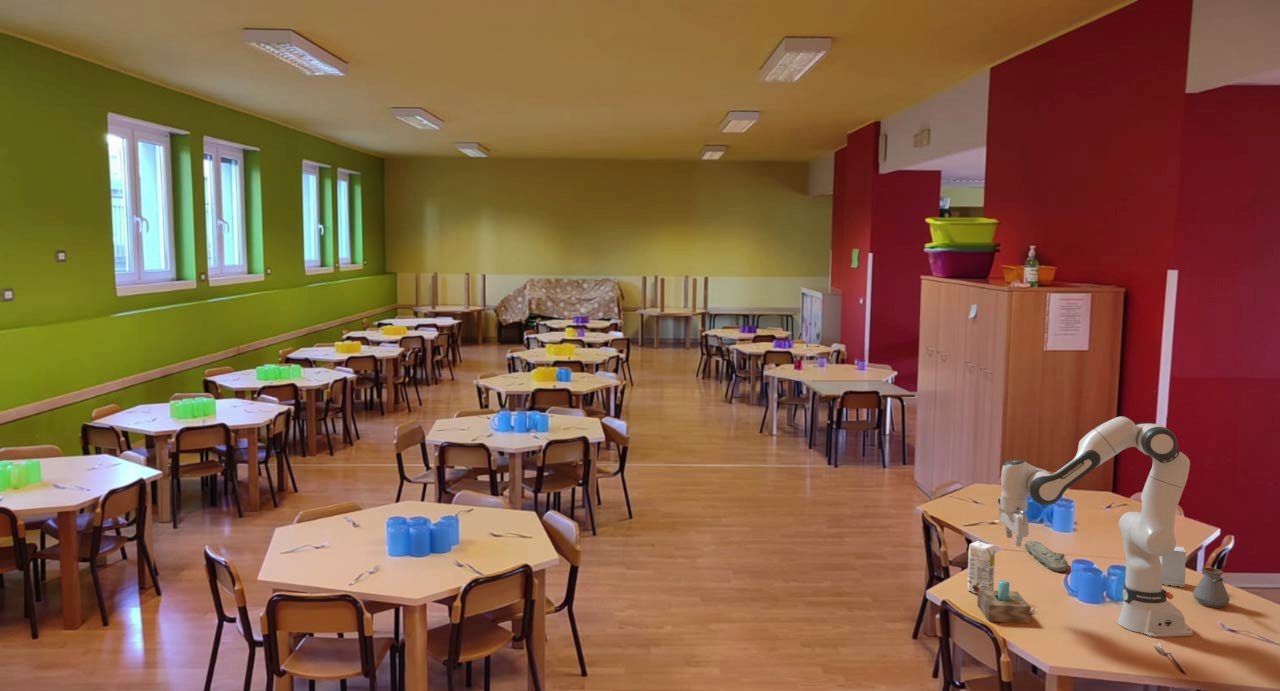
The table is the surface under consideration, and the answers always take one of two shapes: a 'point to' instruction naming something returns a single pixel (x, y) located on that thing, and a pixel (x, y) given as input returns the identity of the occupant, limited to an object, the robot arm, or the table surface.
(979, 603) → the socket block
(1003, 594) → the peg
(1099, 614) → the table surface
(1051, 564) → the long grey stone
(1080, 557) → the table surface
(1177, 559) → the skincare box
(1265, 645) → the table surface
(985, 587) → the juice carton
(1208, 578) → the coffee pot
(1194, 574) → the table surface
